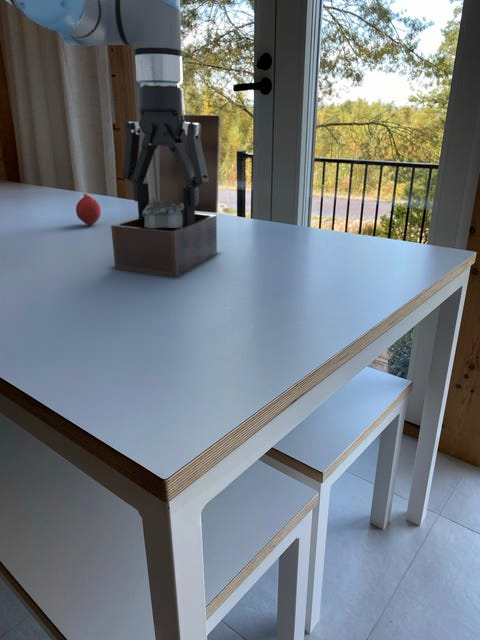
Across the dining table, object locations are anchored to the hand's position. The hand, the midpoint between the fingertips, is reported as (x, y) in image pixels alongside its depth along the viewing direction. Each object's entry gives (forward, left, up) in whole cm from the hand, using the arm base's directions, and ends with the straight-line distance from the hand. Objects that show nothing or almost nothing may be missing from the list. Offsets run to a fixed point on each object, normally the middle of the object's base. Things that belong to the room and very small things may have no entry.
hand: (166, 221), depth 88 cm
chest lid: (0, +9, +10) cm, 13 cm away
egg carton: (0, 0, 0) cm, 0 cm away
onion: (-34, +19, -8) cm, 39 cm away
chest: (0, 0, -8) cm, 8 cm away
